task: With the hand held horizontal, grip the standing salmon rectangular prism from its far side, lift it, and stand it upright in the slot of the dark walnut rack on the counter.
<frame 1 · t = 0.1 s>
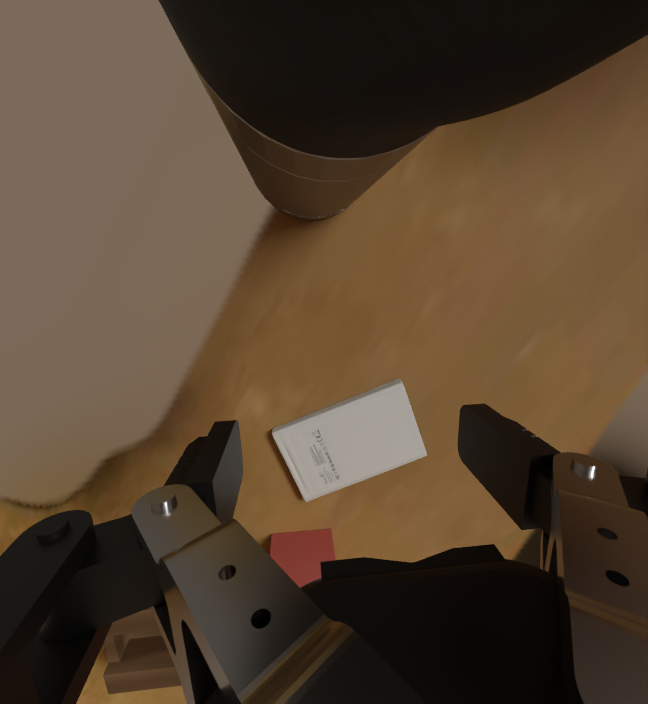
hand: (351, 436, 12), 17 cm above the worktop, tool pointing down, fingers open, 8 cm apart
salmon rectangular prism: (302, 547, 35), on the worktop
external hard drive: (349, 435, 33), on the worktop
rack: (170, 605, 35), on the worktop
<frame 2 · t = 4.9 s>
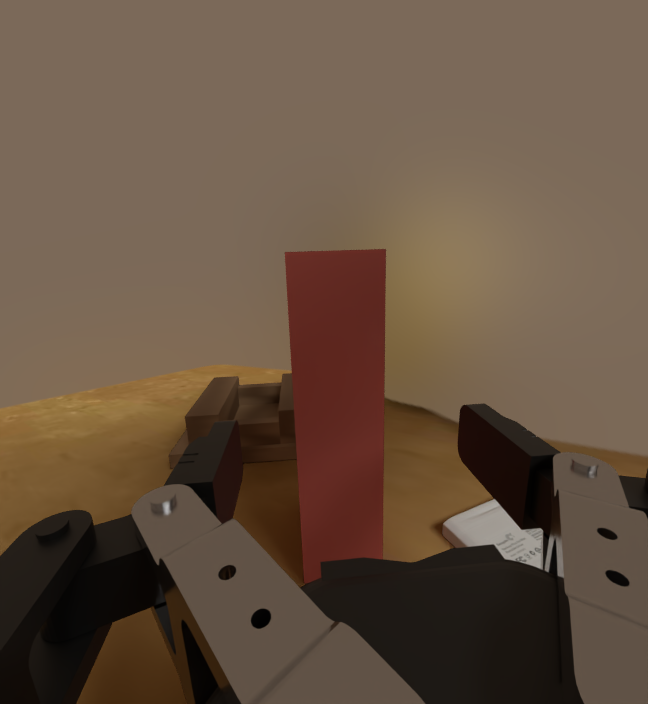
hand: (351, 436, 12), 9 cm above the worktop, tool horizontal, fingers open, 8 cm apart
salmon rectangular prism: (336, 534, 20), on the worktop
external hard drive: (600, 607, 16), on the worktop
rack: (258, 431, 33), on the worktop
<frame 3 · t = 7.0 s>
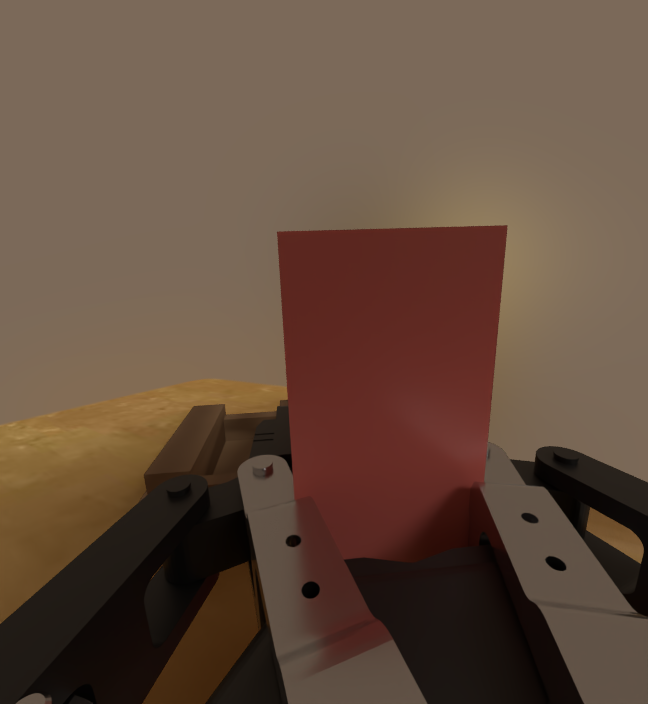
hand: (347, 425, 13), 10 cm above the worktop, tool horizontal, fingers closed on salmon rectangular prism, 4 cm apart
salmon rectangular prism: (364, 694, 13), on the worktop, touching gripper
rack: (249, 479, 26), on the worktop
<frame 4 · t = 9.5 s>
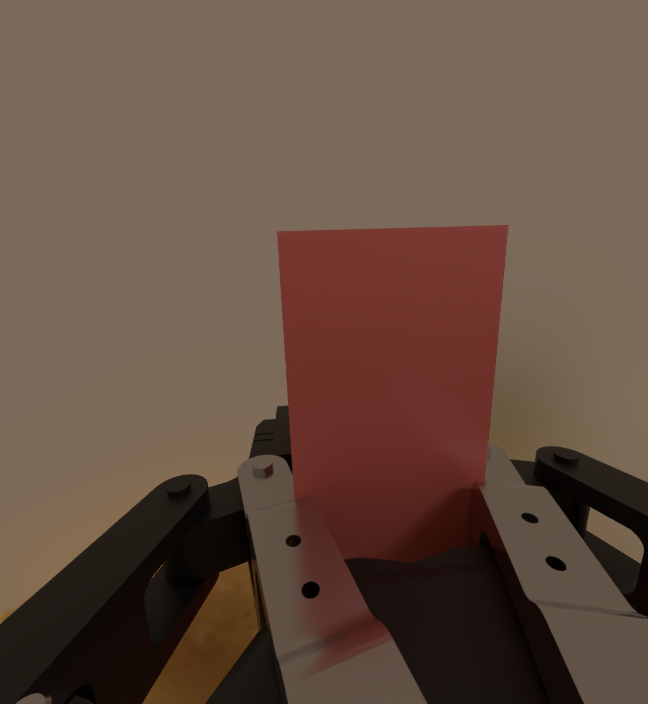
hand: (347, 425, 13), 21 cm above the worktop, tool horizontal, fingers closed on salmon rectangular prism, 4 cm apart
salmon rectangular prism: (364, 694, 13), point 11 cm above the worktop, touching gripper
when the fingers open (12 cm above the worktop, at t = 12.0 s): salmon rectangular prism drops 1 cm, resting on rack.
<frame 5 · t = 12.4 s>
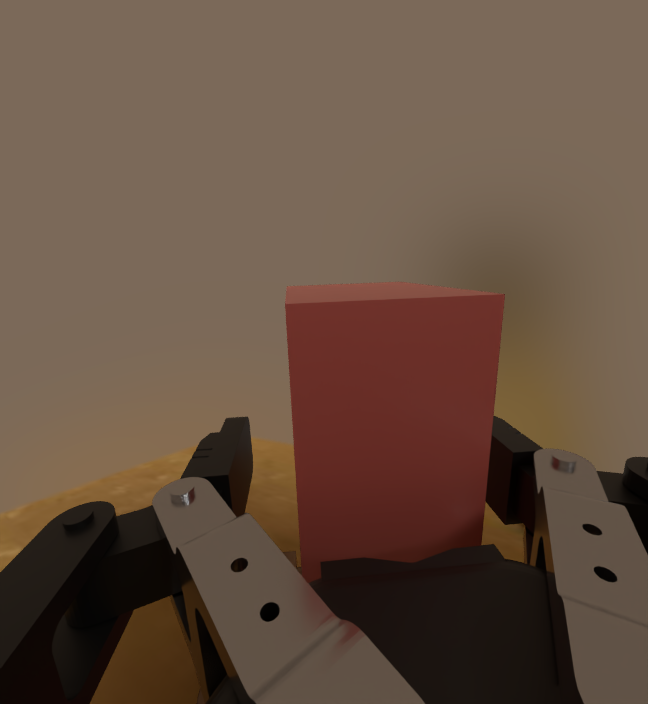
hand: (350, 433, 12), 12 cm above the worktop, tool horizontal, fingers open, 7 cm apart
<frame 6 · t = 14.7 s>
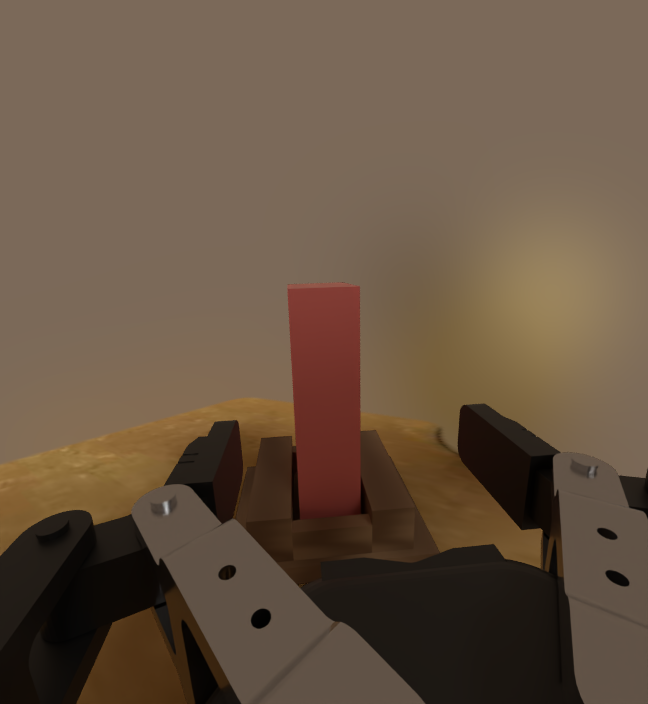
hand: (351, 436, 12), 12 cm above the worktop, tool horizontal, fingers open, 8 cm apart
salmon rectangular prism: (326, 502, 25), point 1 cm above the worktop, touching rack
rack: (326, 515, 26), on the worktop
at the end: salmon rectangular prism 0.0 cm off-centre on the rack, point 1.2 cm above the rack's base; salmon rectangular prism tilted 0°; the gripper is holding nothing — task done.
